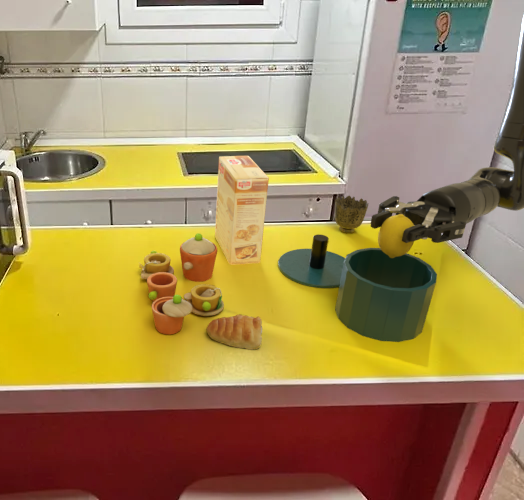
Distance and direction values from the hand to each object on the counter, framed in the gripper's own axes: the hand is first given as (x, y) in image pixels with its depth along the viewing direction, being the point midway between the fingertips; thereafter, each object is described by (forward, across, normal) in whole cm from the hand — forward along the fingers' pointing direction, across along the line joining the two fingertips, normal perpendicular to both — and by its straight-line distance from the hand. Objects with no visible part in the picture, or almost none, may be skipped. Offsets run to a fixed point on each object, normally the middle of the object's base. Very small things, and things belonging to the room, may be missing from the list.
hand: (388, 229), depth 83 cm
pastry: (+23, -8, +18) cm, 30 cm away
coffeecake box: (+3, -34, +19) cm, 39 cm away
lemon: (-3, 0, +6) cm, 7 cm away
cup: (-26, -27, +19) cm, 42 cm away
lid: (-6, -18, +18) cm, 26 cm away
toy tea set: (+24, -24, +18) cm, 38 cm away
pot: (-2, 0, +18) cm, 18 cm away
